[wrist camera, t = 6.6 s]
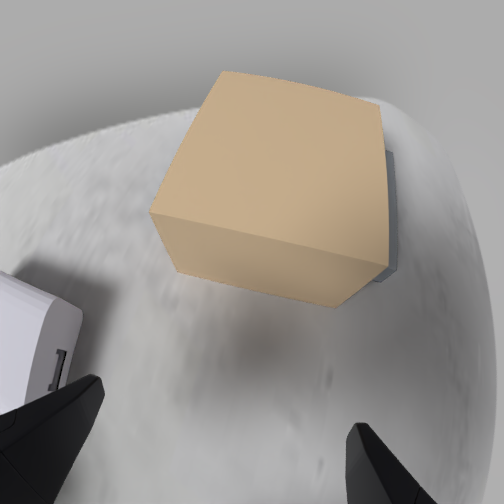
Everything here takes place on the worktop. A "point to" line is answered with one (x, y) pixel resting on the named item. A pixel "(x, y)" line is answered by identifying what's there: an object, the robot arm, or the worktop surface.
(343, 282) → the kraft carton
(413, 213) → the worktop surface
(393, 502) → the robot arm
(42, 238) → the worktop surface
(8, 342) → the charger
